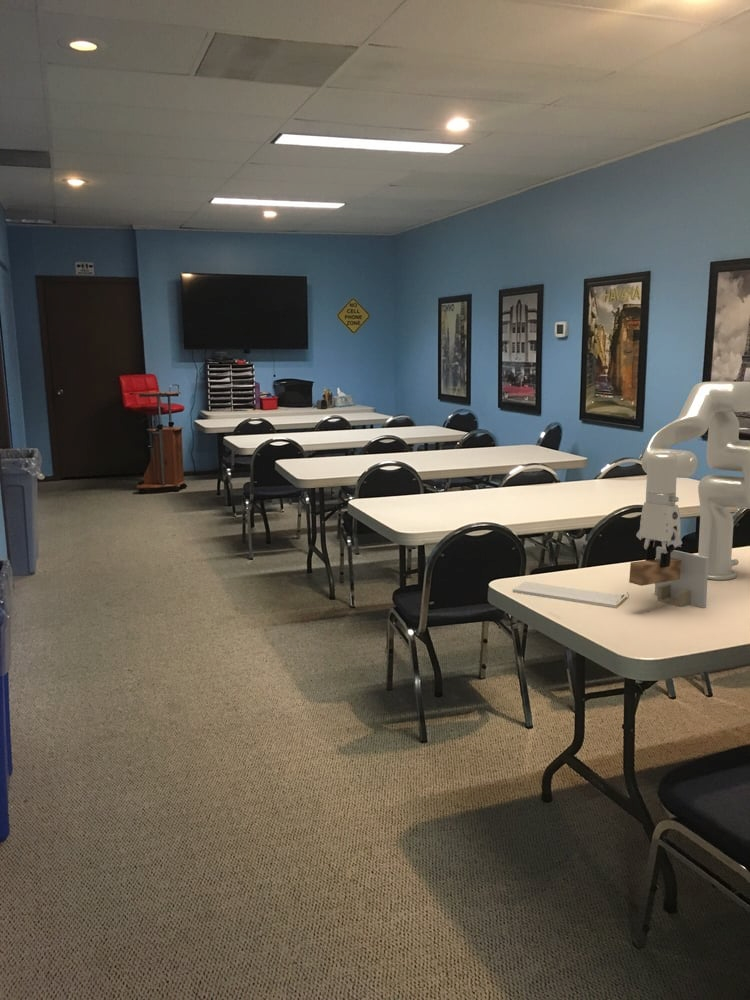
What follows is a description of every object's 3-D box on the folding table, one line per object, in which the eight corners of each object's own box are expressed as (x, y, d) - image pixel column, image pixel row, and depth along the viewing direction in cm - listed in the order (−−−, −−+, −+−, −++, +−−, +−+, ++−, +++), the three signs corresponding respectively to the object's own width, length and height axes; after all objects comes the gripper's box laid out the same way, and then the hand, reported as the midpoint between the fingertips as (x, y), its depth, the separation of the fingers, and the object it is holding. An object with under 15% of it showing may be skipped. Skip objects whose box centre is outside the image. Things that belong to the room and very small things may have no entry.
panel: (657, 593, 226) (659, 546, 223) (706, 607, 212) (708, 557, 210) (645, 596, 223) (647, 549, 221) (694, 610, 210) (696, 560, 207)
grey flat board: (528, 584, 241) (512, 594, 231) (528, 574, 240) (512, 584, 230) (629, 598, 223) (616, 610, 214) (629, 589, 223) (616, 600, 213)
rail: (667, 576, 218) (669, 557, 217) (679, 579, 214) (681, 560, 213) (629, 582, 209) (630, 562, 208) (641, 585, 206) (642, 565, 205)
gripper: (696, 501, 203) (693, 569, 206) (644, 493, 217) (641, 557, 220) (678, 504, 199) (674, 573, 202) (626, 496, 213) (623, 560, 216)
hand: (657, 564), depth 211 cm, fingers closed on rail, 4 cm apart
